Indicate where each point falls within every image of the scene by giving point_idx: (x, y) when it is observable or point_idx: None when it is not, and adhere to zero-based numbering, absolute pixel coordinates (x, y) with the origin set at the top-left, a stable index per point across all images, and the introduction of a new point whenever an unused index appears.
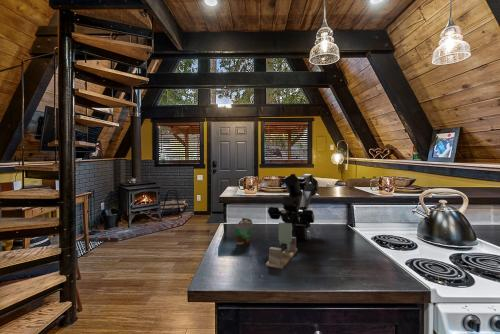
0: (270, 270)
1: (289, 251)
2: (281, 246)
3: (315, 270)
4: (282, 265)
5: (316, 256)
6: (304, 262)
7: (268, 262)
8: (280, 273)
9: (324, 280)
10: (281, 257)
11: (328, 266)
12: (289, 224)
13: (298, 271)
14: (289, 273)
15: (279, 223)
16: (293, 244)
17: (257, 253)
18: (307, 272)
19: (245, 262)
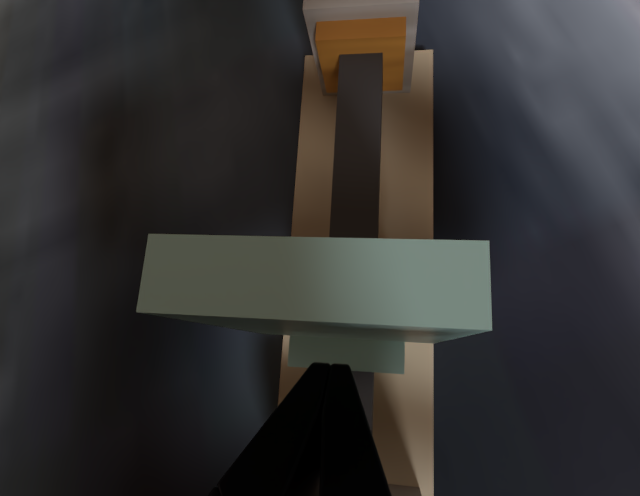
0: None
1: None
2: (355, 188)
3: (104, 136)
4: (305, 60)
5: (97, 409)
6: None
7: (418, 63)
8: (302, 6)
9: (60, 36)
10: (316, 66)
11: (23, 234)
12: (193, 240)
13: (203, 78)
14: (250, 30)
15: (461, 242)
16: None
17: (623, 274)
18: (150, 88)
19: (607, 51)
